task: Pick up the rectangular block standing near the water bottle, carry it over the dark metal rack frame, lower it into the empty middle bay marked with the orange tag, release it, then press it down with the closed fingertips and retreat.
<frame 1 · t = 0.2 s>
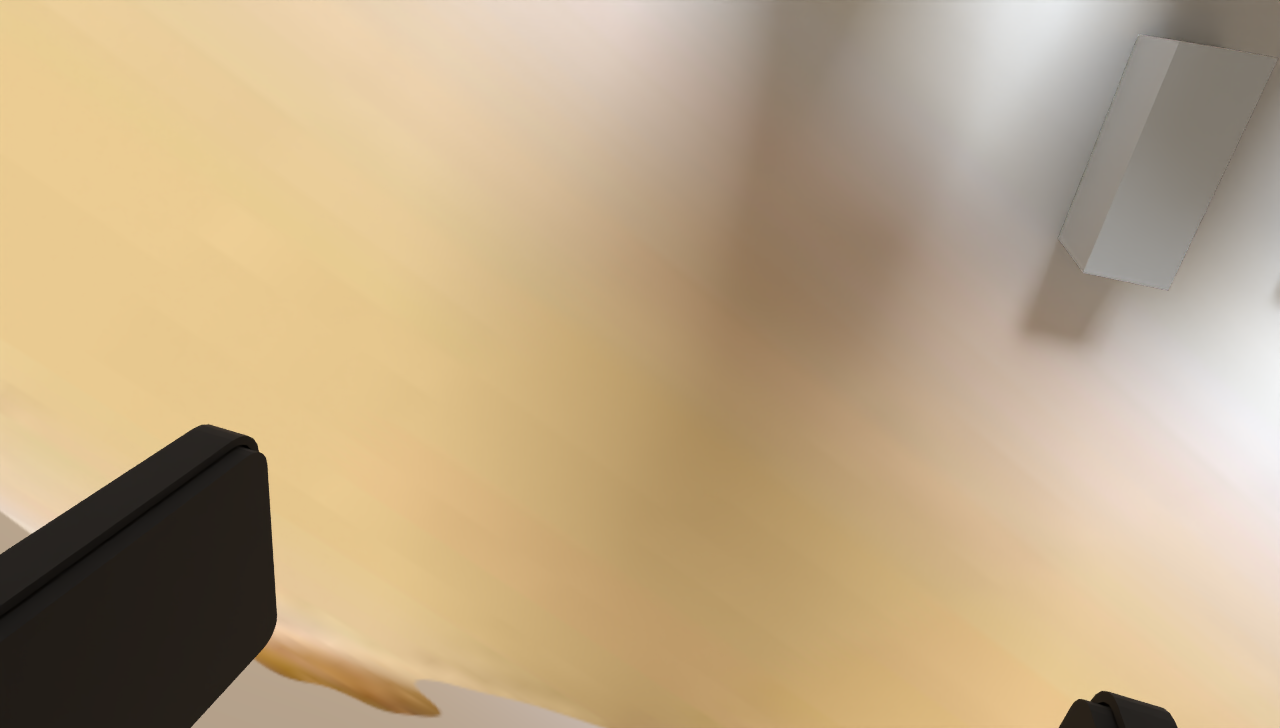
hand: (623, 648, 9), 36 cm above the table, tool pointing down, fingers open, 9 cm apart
rectangular block: (1134, 148, 38), on the table
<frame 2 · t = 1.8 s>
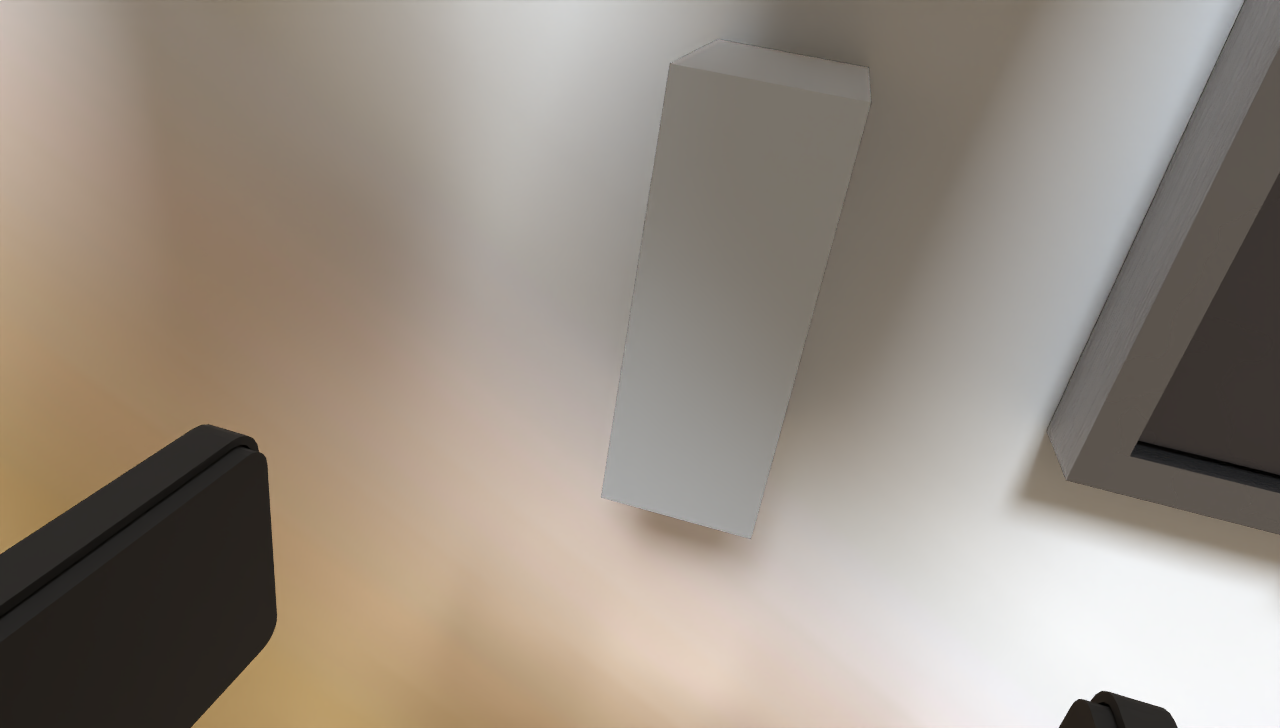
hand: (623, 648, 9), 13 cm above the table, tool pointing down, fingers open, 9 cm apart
rectangular block: (749, 246, 21), on the table
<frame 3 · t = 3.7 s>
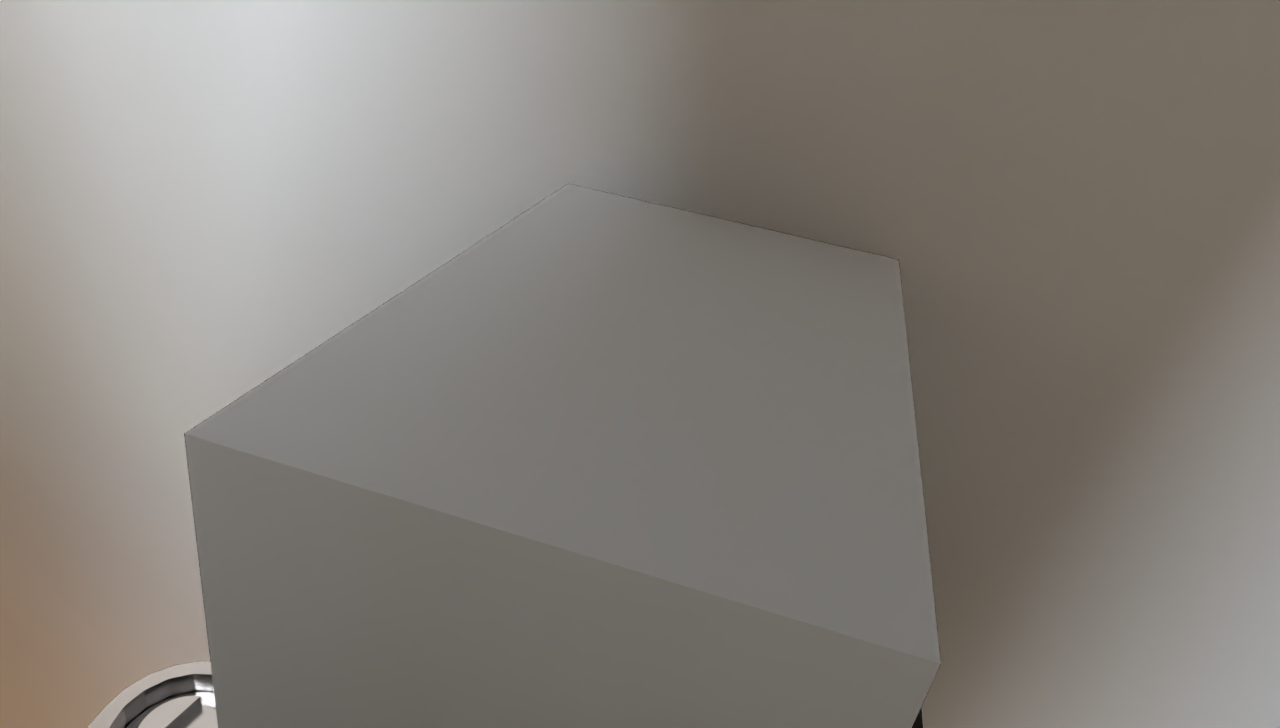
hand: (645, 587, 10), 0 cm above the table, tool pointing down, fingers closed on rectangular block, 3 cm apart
rectangular block: (652, 571, 11), on the table, touching gripper
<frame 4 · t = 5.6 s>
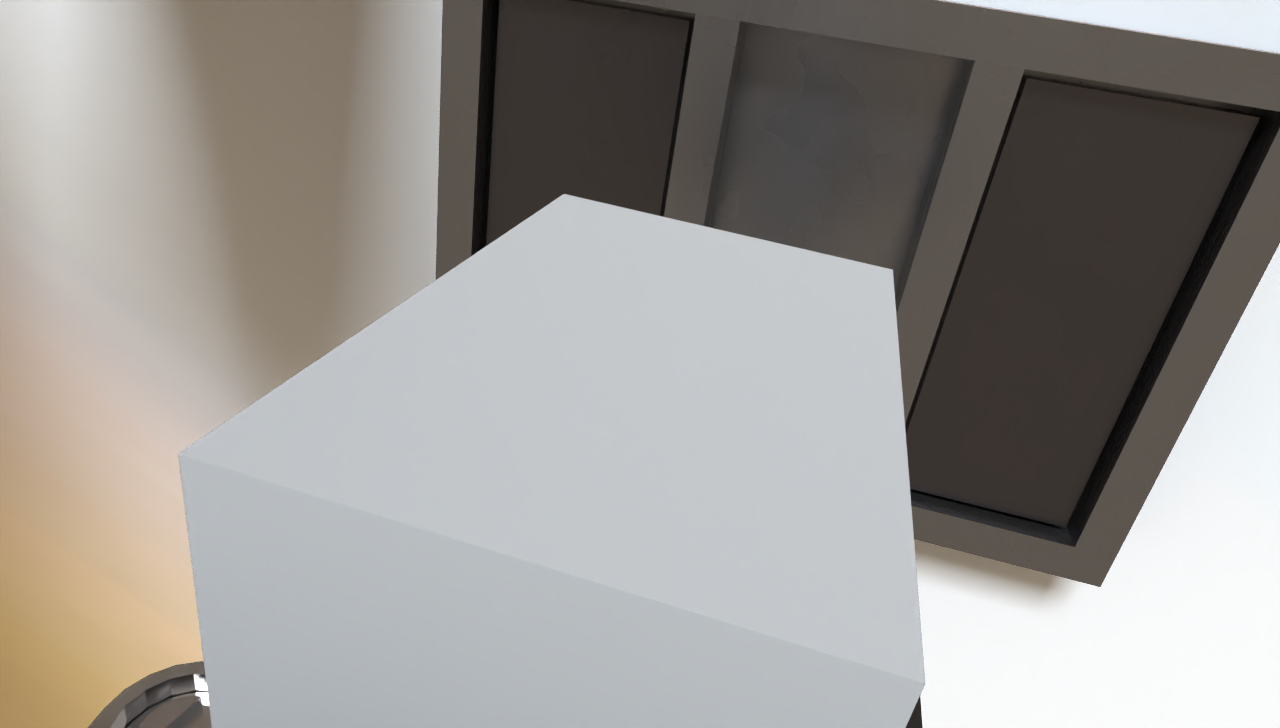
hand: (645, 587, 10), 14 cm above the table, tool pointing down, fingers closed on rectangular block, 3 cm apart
rack: (803, 252, 22), on the table
rectangular block: (649, 578, 11), point 13 cm above the table, touching gripper
when the fingers open (3 cm above the table, at t = 8.0 s): rectangular block drops 2 cm, resting on rack.
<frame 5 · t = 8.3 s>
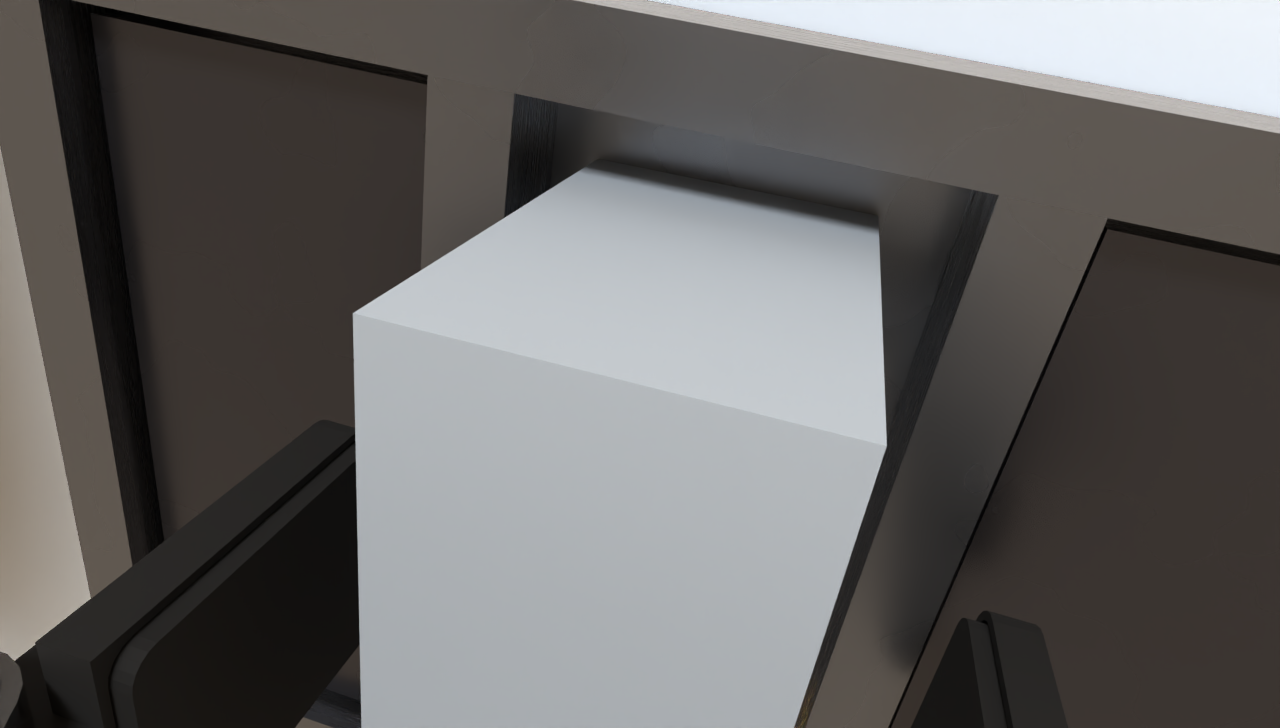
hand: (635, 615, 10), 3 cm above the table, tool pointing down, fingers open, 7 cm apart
rack: (690, 469, 13), on the table
rectangular block: (672, 500, 12), point 1 cm above the table, touching rack
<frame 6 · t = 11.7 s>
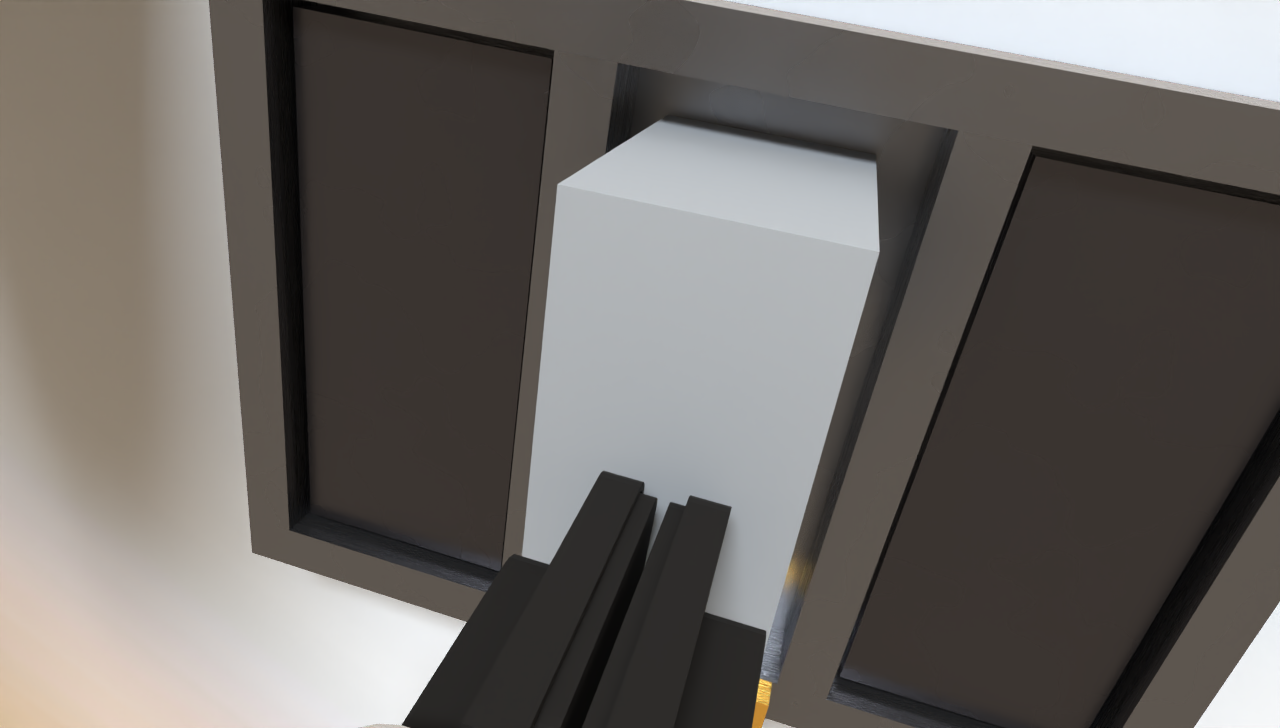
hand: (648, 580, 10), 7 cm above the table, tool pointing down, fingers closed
rack: (729, 365, 16), on the table
rectangular block: (717, 384, 16), point 1 cm above the table, touching rack
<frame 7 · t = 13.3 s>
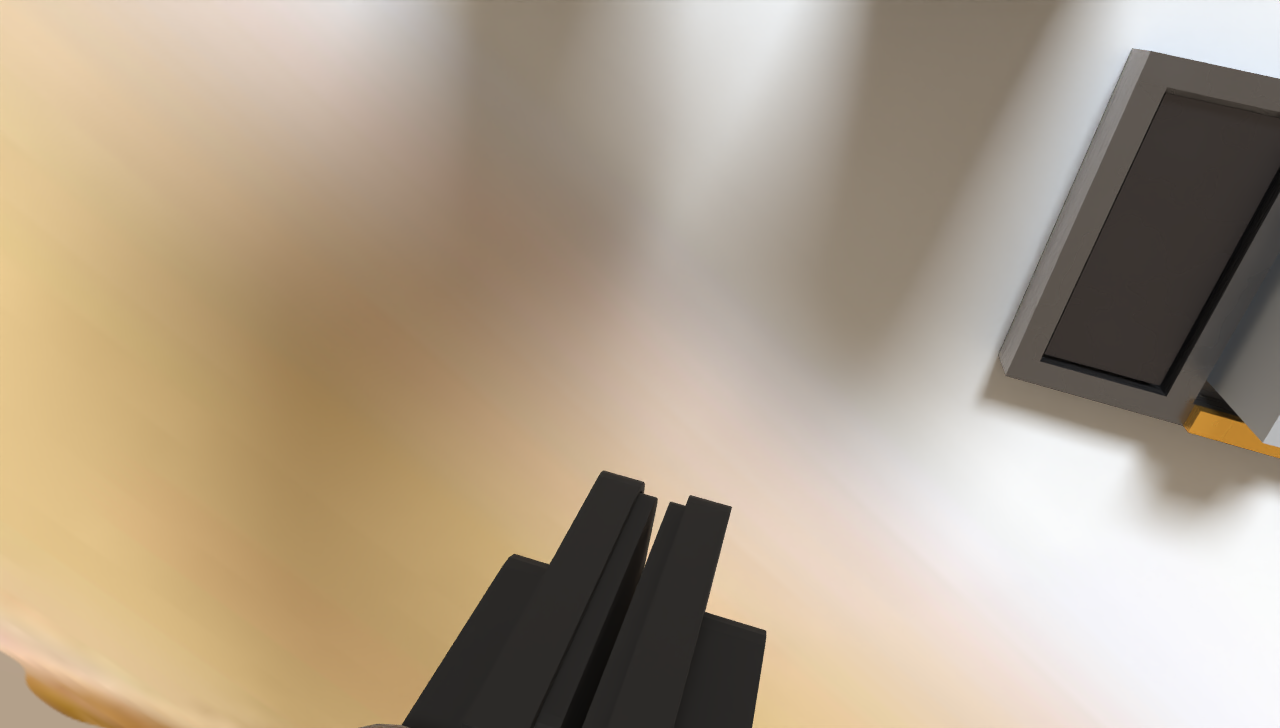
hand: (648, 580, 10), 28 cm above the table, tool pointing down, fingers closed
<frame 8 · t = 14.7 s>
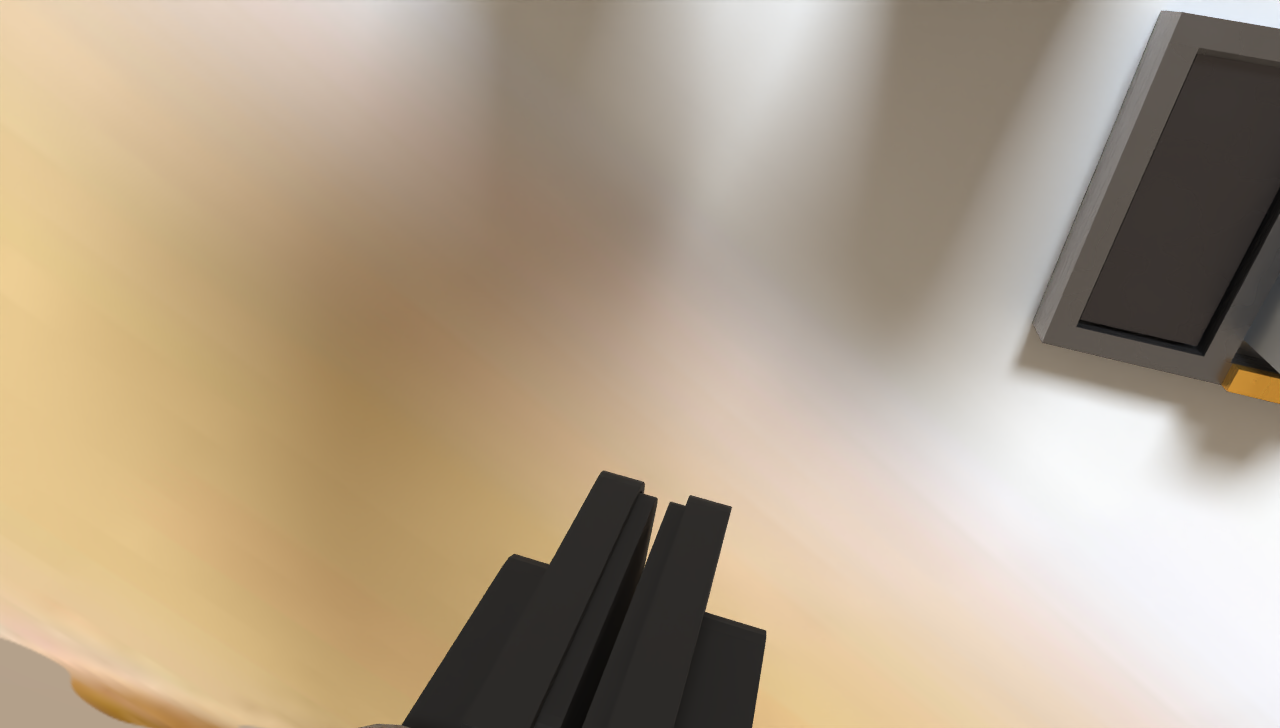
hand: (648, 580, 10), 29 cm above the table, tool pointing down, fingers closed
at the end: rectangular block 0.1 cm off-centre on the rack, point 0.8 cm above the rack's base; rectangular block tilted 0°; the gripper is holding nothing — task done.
